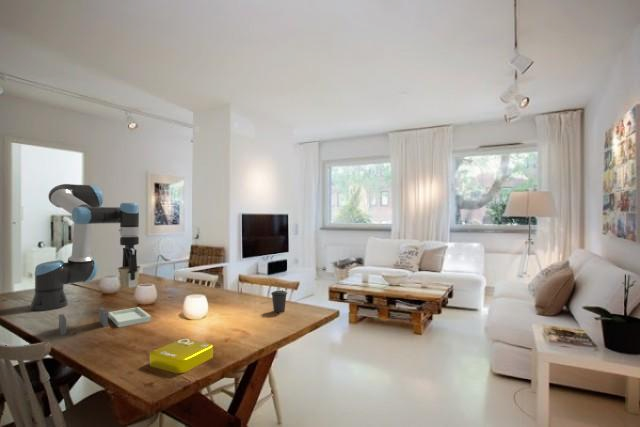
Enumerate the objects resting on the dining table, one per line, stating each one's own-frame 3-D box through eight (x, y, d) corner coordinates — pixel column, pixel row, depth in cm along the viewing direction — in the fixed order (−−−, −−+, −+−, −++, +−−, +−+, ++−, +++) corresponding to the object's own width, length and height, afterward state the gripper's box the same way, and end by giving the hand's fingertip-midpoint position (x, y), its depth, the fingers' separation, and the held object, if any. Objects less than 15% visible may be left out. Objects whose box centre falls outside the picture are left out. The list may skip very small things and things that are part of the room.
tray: (108, 317, 160) (108, 312, 160) (138, 311, 169) (138, 307, 169) (118, 327, 146) (118, 322, 146) (151, 321, 154) (151, 316, 154)
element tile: (146, 366, 110) (146, 351, 110) (183, 349, 123) (183, 336, 123) (180, 375, 103) (180, 360, 103) (215, 357, 117) (215, 343, 117)
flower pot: (130, 288, 152) (130, 269, 152) (112, 287, 154) (112, 268, 154) (145, 284, 161) (145, 266, 161) (128, 283, 163) (128, 265, 163)
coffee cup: (288, 309, 174) (288, 289, 174) (285, 313, 166) (285, 293, 166) (273, 308, 175) (273, 289, 175) (269, 313, 166) (269, 292, 166)
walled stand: (58, 328, 144) (58, 314, 144) (103, 320, 155) (103, 307, 155) (61, 335, 137) (61, 320, 137) (107, 326, 147) (107, 312, 147)
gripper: (115, 235, 163) (115, 283, 163) (126, 237, 147) (126, 290, 147) (132, 234, 168) (132, 281, 168) (145, 237, 152) (145, 288, 152)
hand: (129, 285), depth 157 cm, fingers closed on flower pot, 8 cm apart
